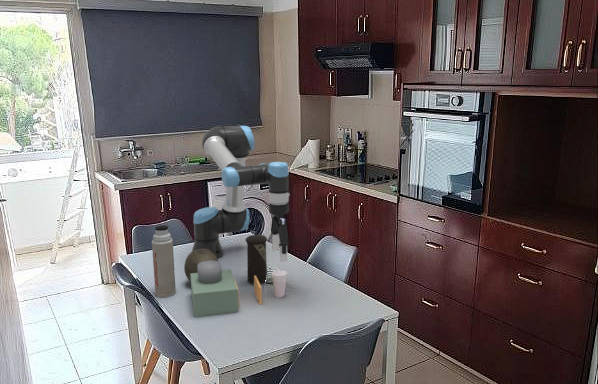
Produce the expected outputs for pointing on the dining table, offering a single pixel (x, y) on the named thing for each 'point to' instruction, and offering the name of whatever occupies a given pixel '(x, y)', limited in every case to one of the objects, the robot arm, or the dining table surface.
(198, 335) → the dining table surface
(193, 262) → the cantaloupe
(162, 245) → the thermos bottle
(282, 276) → the smoothie
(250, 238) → the container
